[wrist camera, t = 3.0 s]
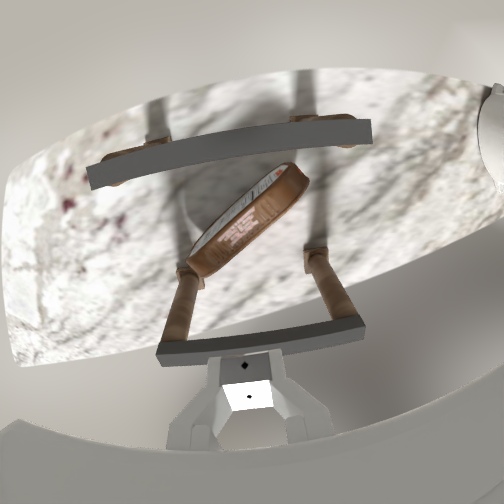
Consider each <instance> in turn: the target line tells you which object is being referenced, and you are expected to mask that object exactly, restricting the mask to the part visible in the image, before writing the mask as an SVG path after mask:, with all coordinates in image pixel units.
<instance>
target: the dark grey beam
mask: <svg viewBox="0 0 504 504" xmlns="http://www.w3.org/2000/svg"><path fill="white" fill-rule="evenodd" d="M365 328H366V326H365V324H364V322H363V320H362V318H361V317H360V315H355V316H351V317H346V318H341V319H336V320H331V321H326V322H321V323H316V324H311V325H305V326H299V327H293V328H287V329H280V330H274V331H267V332H260V333H253V334H245V335H237V336H229V337H220V338H210V339H199V340H188V341H174V342H159V345H158V348H157V352H156V357H157V359H158V361H159V362H160V364H161V366H162V367H169V366H191V365H206V364H208V359H209V357H221V356H231V355H242V354H248V353H255V352H262V351H268V352H269V350H275V349H281V351H282V356H283V355H289V354H295V353H301V352H307V351H312V350H317V349H322V348H327V347H332V346H336V345H341V344H346V343H350V342H355V341H359V340H363V339H364V334H365Z"/></svg>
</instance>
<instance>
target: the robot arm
mask: <svg viewBox="0 0 504 504" xmlns="http://www.w3.org/2000/svg"><path fill="white" fill-rule="evenodd" d="M478 138H479V146H480V152H481V156H482V159H483V162H484V165H485V167H486V169H487V170H488V172H489V173H490V175H491V176H492V178H493V180H494V183H495V187H496V190H497V192H499V193H504V87H503V86H502V85H501V84H496V83H495V84H494V85H493V88H492V92H491V95H490V96H489V97H488V98H487V99H486V100H485V102H484V104H483V106H482V108H481V111H480V115H479V123H478ZM266 406H273V407H274V408H275V409H276V410H277V411H278V413H279V414H280V415H281V416H282V417H283V418H284V419H285V425H286V432H287V442H288V444H286V445H279V446H271V447H263V448H254V449H241V450H224V449H223V448H222V446H221V445H220V443H219V442H218V440H217V438H216V437H217V435H218V434H219V432H220V431H221V429H222V427H223V426H224V425H225V423H226V421H227V420H228V418H229V417H230V415H231V413H232V412H233V411H232V410H240V409H247V408H257V407H266ZM0 504H504V362H503V363H501V364H499V365H497V366H496V367H494V368H493V369H491V370H490V371H488V372H486V373H485V374H483V375H482V376H480V377H478V378H476V379H475V380H473V381H471V382H470V383H468V384H466V385H464V386H462V387H461V388H458V389H457V390H455V391H453V392H451V393H449V394H447V395H445V396H443V397H441V398H438V399H436V400H434V401H432V402H430V403H428V404H425V405H423V406H421V407H418V408H416V409H414V410H411V411H409V412H406V413H404V414H401V415H398V416H396V417H393V418H390V419H387V420H384V421H381V422H378V423H375V424H372V425H369V426H366V427H362V428H359V429H356V430H352V431H348V432H345V433H341V434H337V435H335V432H334V428H333V425H332V421H331V417H330V414H329V410H328V408H327V407H325V406H324V405H323V404H321V403H320V402H319V401H318V400H316V399H315V398H314V397H313V396H311V395H310V394H309V393H308V392H307V391H305V390H304V389H303V388H302V387H300V386H299V385H298V384H297V383H296V382H294V381H293V380H292V379H291V378H286V373H285V367H284V362H283V356H282V351H281V349H275V350H269V352H268V351H262V352H255V353H248V354H242V355H231V356H221V357H209V359H208V368H207V378H206V388H202V389H201V390H200V391H199V392H198V393H197V394H196V396H195V397H194V398H193V399H192V400H191V401H190V402H189V403H188V404H187V406H186V407H185V408H184V409H183V410H182V411H181V412H180V413H179V414H178V416H177V417H176V418H175V419H174V420H173V421H172V422H171V423H170V426H169V432H168V439H167V445H166V450H162V449H151V448H141V447H132V446H125V445H118V444H112V443H107V442H101V441H96V440H92V439H87V438H82V437H78V436H74V435H70V434H67V433H63V432H60V431H56V430H53V429H50V428H46V427H43V426H40V425H37V424H34V423H32V422H29V421H26V420H23V419H18V420H16V421H14V422H12V423H11V424H9V425H8V426H6V427H5V428H4V429H2V430H1V431H0Z"/></svg>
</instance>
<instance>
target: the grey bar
mask: <svg viewBox="0 0 504 504" xmlns="http://www.w3.org/2000/svg"><path fill="white" fill-rule="evenodd" d="M360 144H373V141H372V129H371V119H338V120H317V121H302V122H290V123H280V124H271V125H262V126H255V127H248V128H241V129H234V130H228V131H222V132H217V133H211V134H206V135H201V136H196V137H191V138H187V139H182V140H178V141H173V142H169V143H165V144H161V145H157V146H153V147H150V148H146V149H142V150H139V151H135V152H132V153H128V154H125V155H122V156H118V157H115V158H112V159H109V160H106V161H103V162H100V163H97V164H94V165H91V166H88V167H86V170H87V174H88V178H89V182H90V186H91V190H95V189H98V188H101V187H105V186H108V185H112V184H115V183H119V182H122V181H126V180H130V179H133V178H137V177H141V176H145V175H149V174H153V173H157V172H161V171H166V170H170V169H175V168H179V167H184V166H189V165H194V164H199V163H204V162H209V161H215V160H220V159H226V158H232V157H238V156H245V155H252V154H259V153H266V152H274V151H282V150H291V149H301V148H312V147H324V146H339V145H360Z"/></svg>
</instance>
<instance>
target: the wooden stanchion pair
mask: <svg viewBox="0 0 504 504" xmlns="http://www.w3.org/2000/svg"><path fill="white" fill-rule="evenodd" d="M338 119H356V118H355V117H354V116H352V115H349V114H336V115H327V116H318V115H305V116H292V117H290V122H302V121H317V120H338ZM169 142H172V141H171V136H170V137H166V138H162V139H158V140H154V141H150V142H147V143H143V144H144V145H143V146H138V147H134V148H130V149H126V150H122V151H118V152H114V153H110V154H107V155H106V156H105V157H104V158H103V159H102V160H101V162H103V161H106V160H109V159H112V158H115V157H118V156H122V155H125V154H128V153H132V152H135V151H139V150H142V149H146V148H150V147H153V146H157V145H161V144H165V143H169ZM354 146H356V145H339V146H338V147H342V148H351V147H354ZM126 181H128V180H126ZM126 181H122V182H119V183H115V184H112V185H108V186H112V187H115V186H119V185H120V184H122V183H124V182H126ZM303 252H304V268H305V273H306V274H310V273H312V275H313V277H314V279H315V282H316V284H317V286H318V288H319V291H320V293H321V295H322V297H323V300H324V302H325V304H326V306H327V309H328V311H329V313H330V315H331V318H332V320H336V319H341V318H346V317H351V316H355V315H359V314H358V312H357V311H356V309H355V307H354V305H353V303H352V302H351V300H350V298H349V296H348V295H347V293H346V291H345V289H344V288H343V286H342V284H341V283H340V281H339V279H338V277H337V276H336V274H335V272H334V271H333V269H332V267H331V266H330V264H329V258H328V248H327V247H321V248H314V249H308V250H303ZM176 274H177V278H178V281H179V285H178V288H177V291H176V294H175V297H174V300H173V303H172V306H171V309H170V312H169V315H168V319H167V322H166V325H165V328H164V331H163V334H162V338H161V341H160V342H174V341H187V337H188V333H189V328H190V323H191V318H192V314H193V309H194V304H195V300H196V295H197V291H198V290H201V289H204V288H205V284H204V281H203V279H202V278H200V276H199V274H197V273H196V272H195V271H194V270H193V269H192V268H191V267H187V268H180V269H177V270H176Z"/></svg>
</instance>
